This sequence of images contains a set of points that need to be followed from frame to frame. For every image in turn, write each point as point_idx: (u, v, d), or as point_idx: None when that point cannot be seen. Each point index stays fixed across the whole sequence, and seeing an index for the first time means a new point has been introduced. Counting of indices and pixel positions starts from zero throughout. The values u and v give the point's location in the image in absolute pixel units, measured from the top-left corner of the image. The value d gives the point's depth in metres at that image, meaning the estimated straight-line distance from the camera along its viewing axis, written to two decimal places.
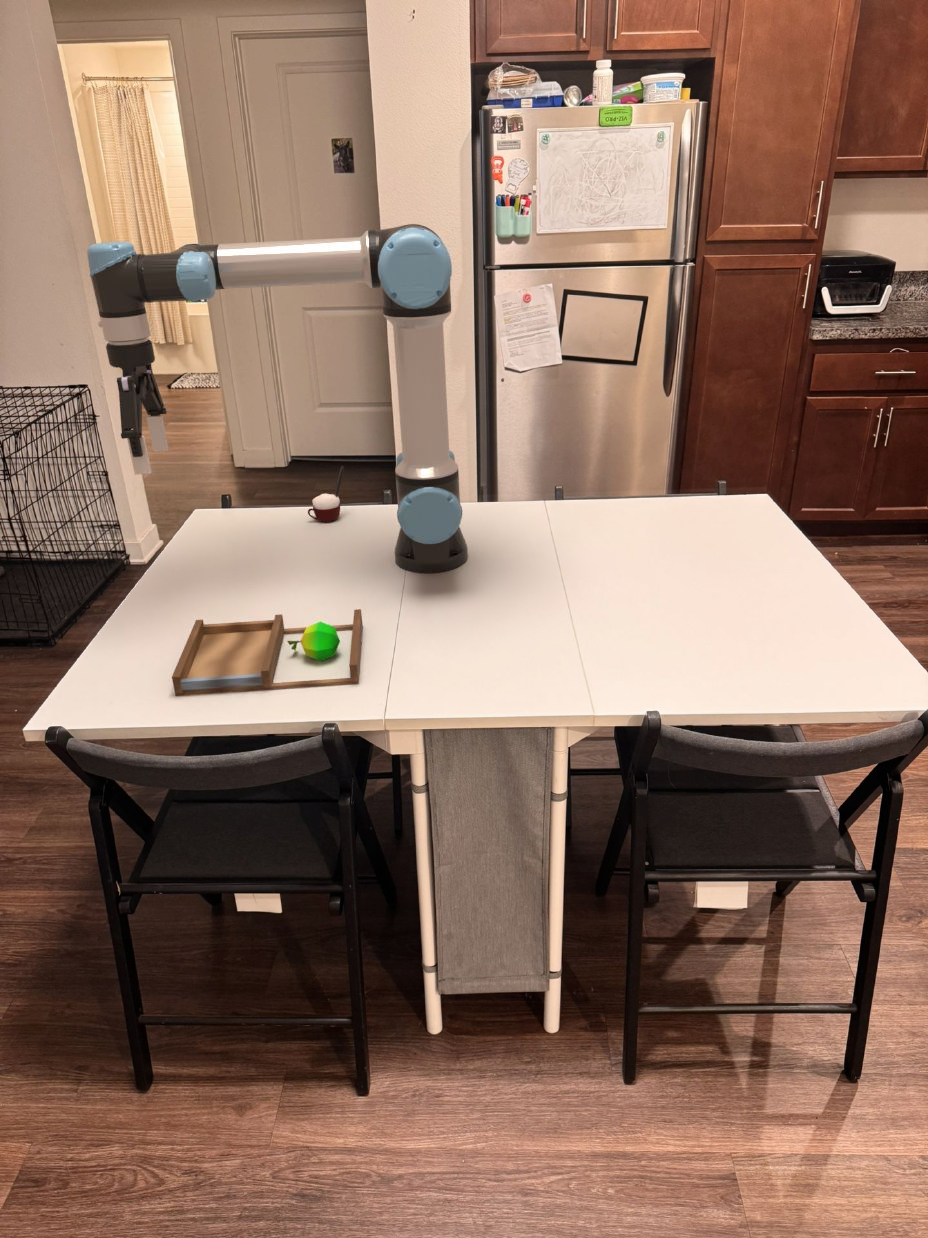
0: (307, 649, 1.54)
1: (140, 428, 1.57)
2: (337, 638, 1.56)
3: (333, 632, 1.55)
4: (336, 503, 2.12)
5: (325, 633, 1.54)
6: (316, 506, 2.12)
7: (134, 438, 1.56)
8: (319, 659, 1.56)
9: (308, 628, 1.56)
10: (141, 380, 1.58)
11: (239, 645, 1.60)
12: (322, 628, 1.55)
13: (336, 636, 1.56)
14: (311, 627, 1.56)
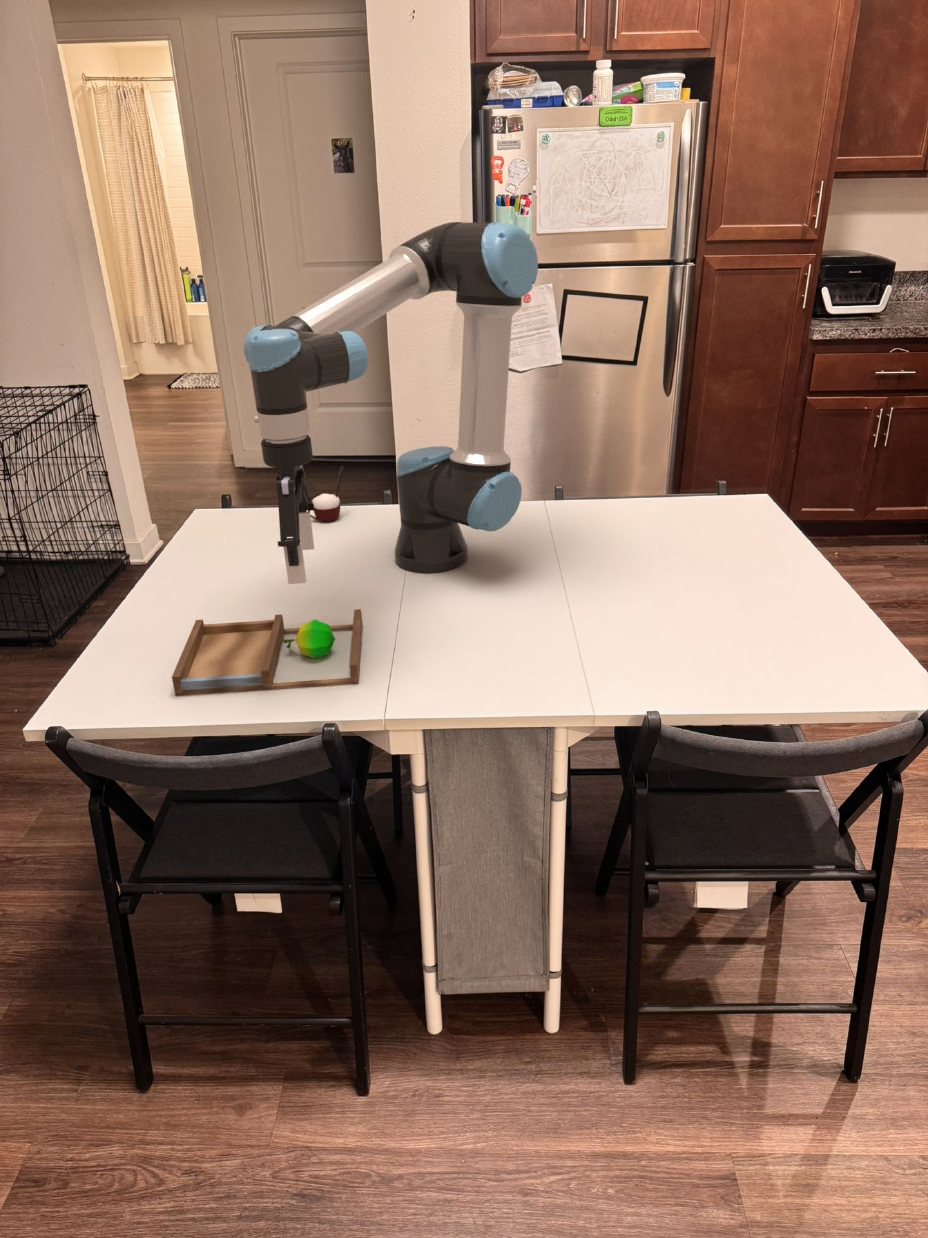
0: (302, 648, 1.55)
1: (298, 535, 1.40)
2: (332, 636, 1.57)
3: (328, 630, 1.56)
4: (336, 503, 2.12)
5: (320, 630, 1.55)
6: (316, 506, 2.12)
7: (292, 547, 1.40)
8: (314, 657, 1.57)
9: (303, 626, 1.56)
10: (298, 480, 1.42)
11: (239, 645, 1.60)
12: (317, 626, 1.56)
13: (331, 634, 1.57)
14: (306, 625, 1.56)
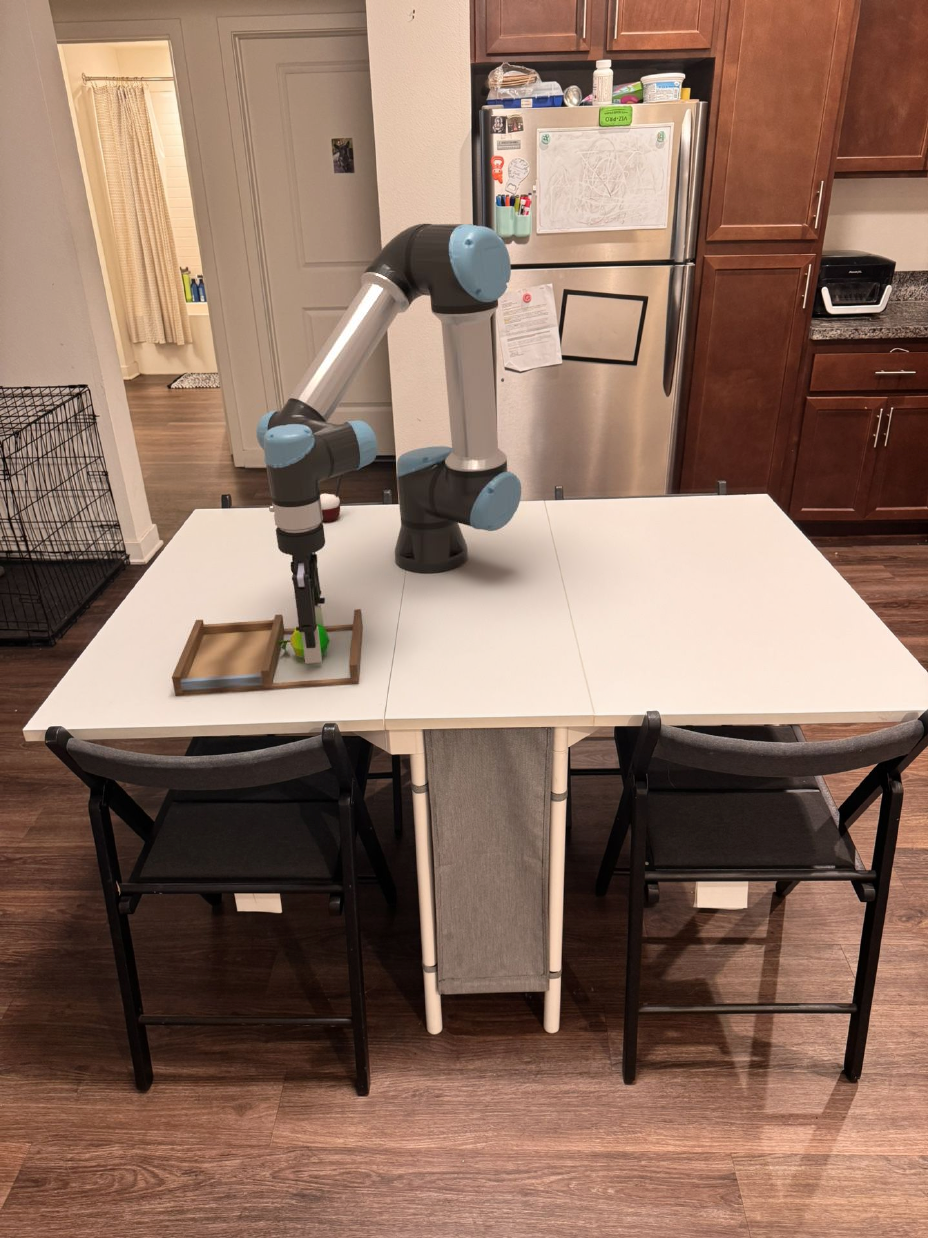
0: (296, 649, 1.55)
1: (315, 620, 1.50)
2: (327, 638, 1.56)
3: (322, 632, 1.55)
4: (336, 503, 2.12)
5: None
6: None
7: (309, 631, 1.49)
8: None
9: None
10: (312, 567, 1.48)
11: (239, 645, 1.60)
12: None
13: (326, 636, 1.56)
14: None
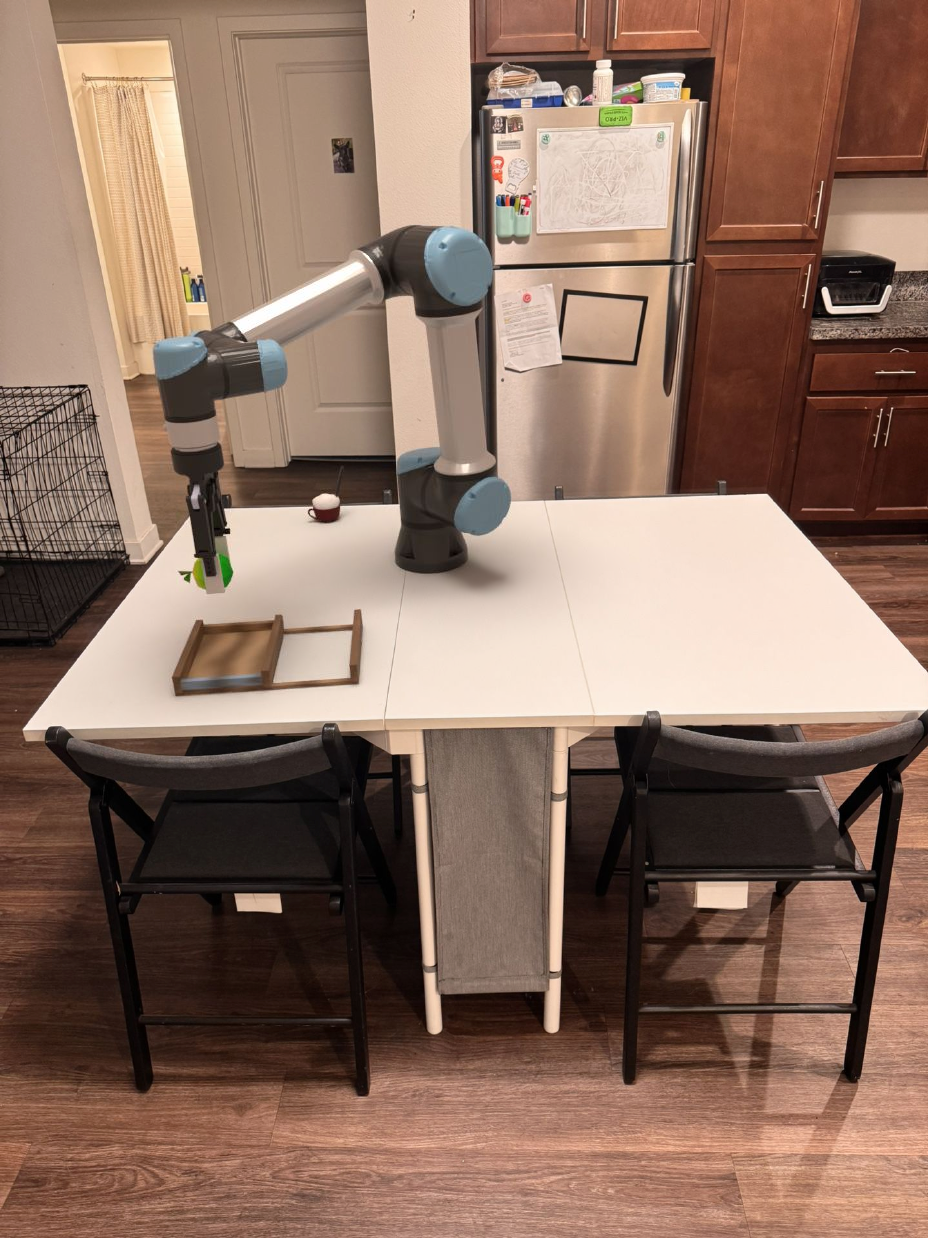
0: (197, 579, 1.47)
1: (214, 546, 1.43)
2: (230, 568, 1.49)
3: (225, 562, 1.48)
4: (336, 503, 2.12)
5: None
6: (316, 506, 2.12)
7: (208, 558, 1.42)
8: None
9: None
10: (209, 489, 1.41)
11: (239, 645, 1.60)
12: None
13: (229, 566, 1.49)
14: None
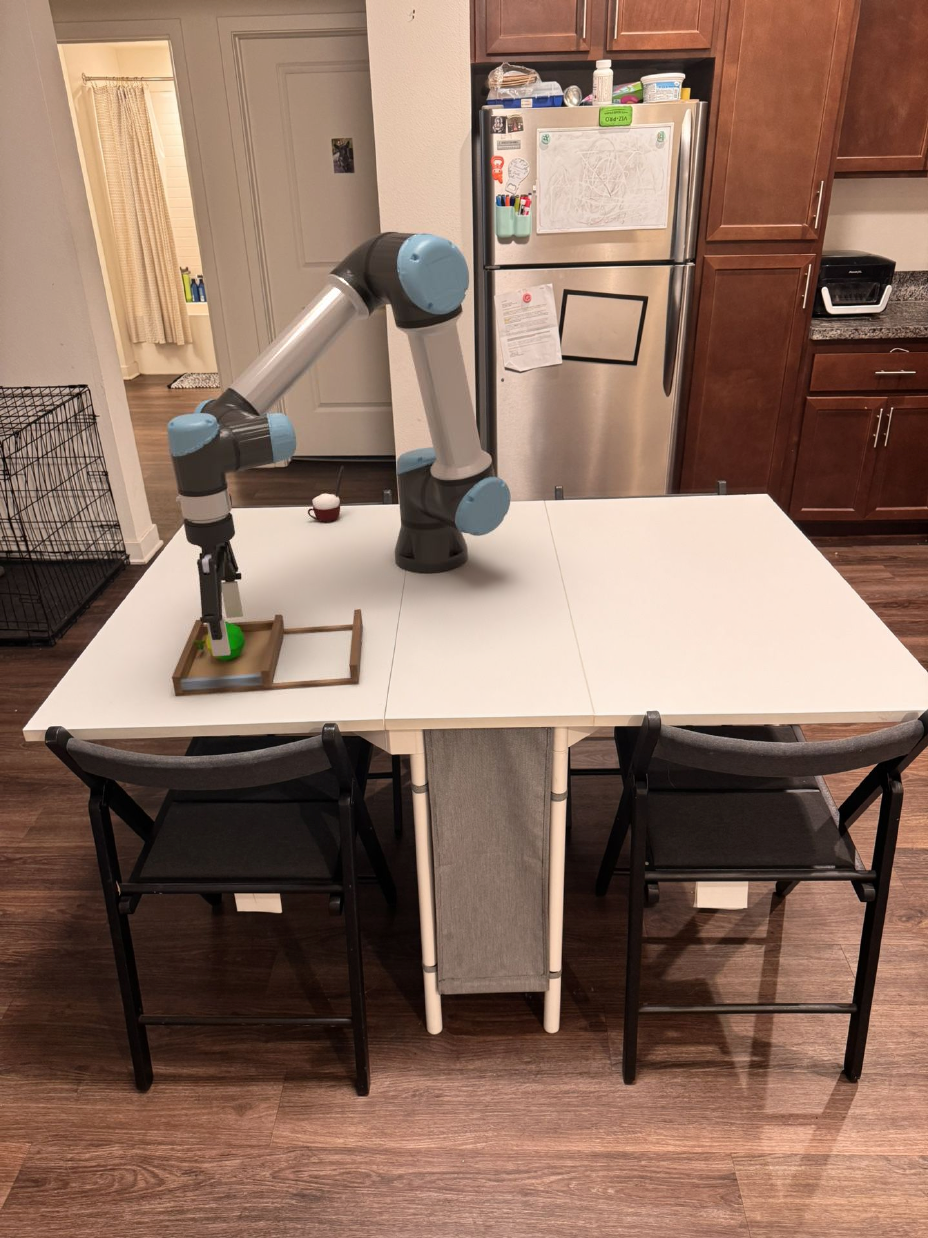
0: (211, 649, 1.54)
1: (220, 610, 1.45)
2: (242, 638, 1.55)
3: (237, 633, 1.54)
4: (336, 503, 2.12)
5: (229, 633, 1.53)
6: (316, 506, 2.12)
7: (214, 622, 1.44)
8: (224, 659, 1.55)
9: None
10: (220, 556, 1.46)
11: None
12: (227, 628, 1.54)
13: (241, 636, 1.55)
14: None
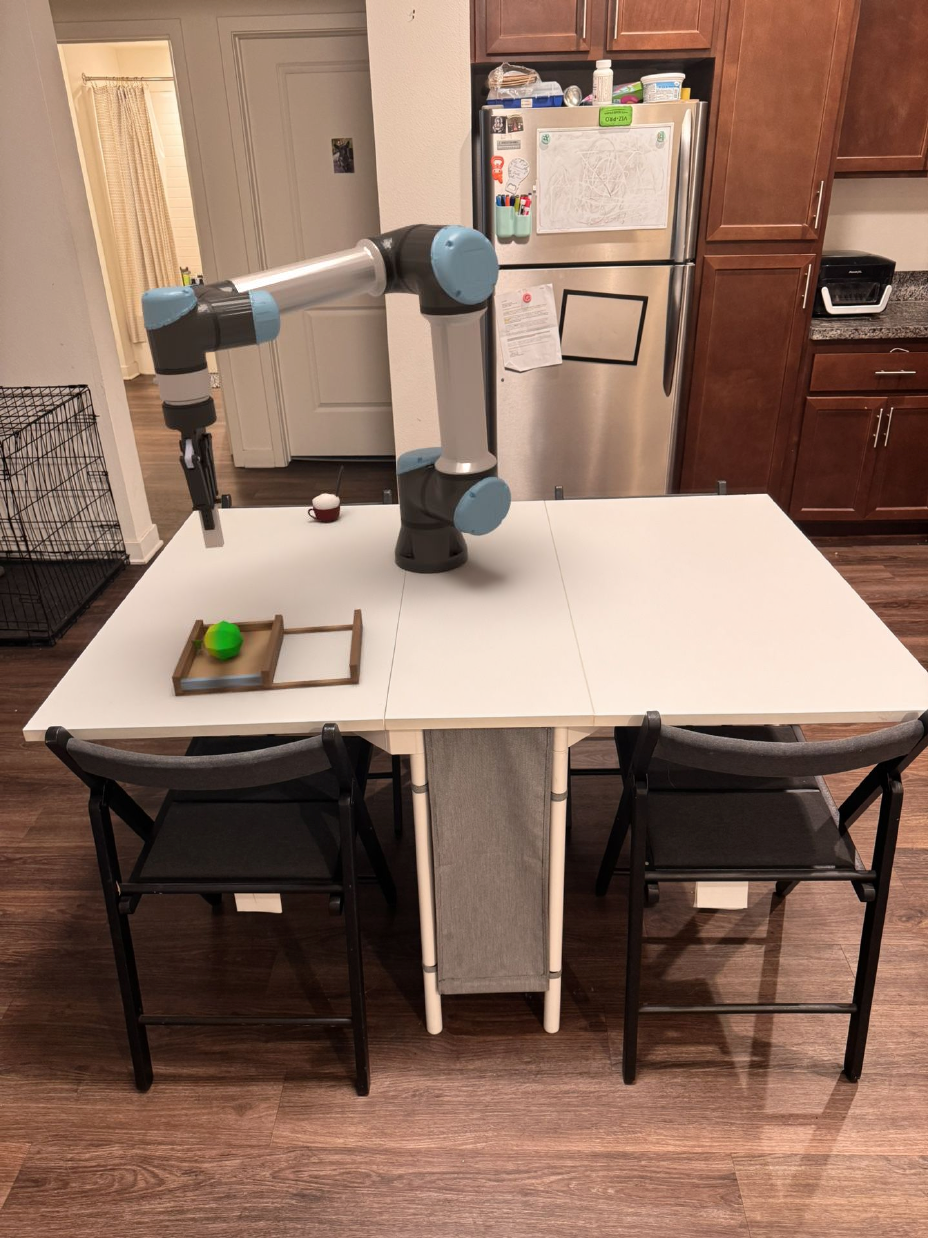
0: (209, 649, 1.54)
1: (212, 500, 1.43)
2: (240, 637, 1.55)
3: (235, 631, 1.54)
4: (336, 503, 2.12)
5: (227, 632, 1.53)
6: (316, 506, 2.12)
7: (206, 511, 1.43)
8: (222, 658, 1.55)
9: (211, 627, 1.55)
10: (202, 446, 1.38)
11: None
12: (225, 627, 1.54)
13: (239, 635, 1.55)
14: (214, 626, 1.55)
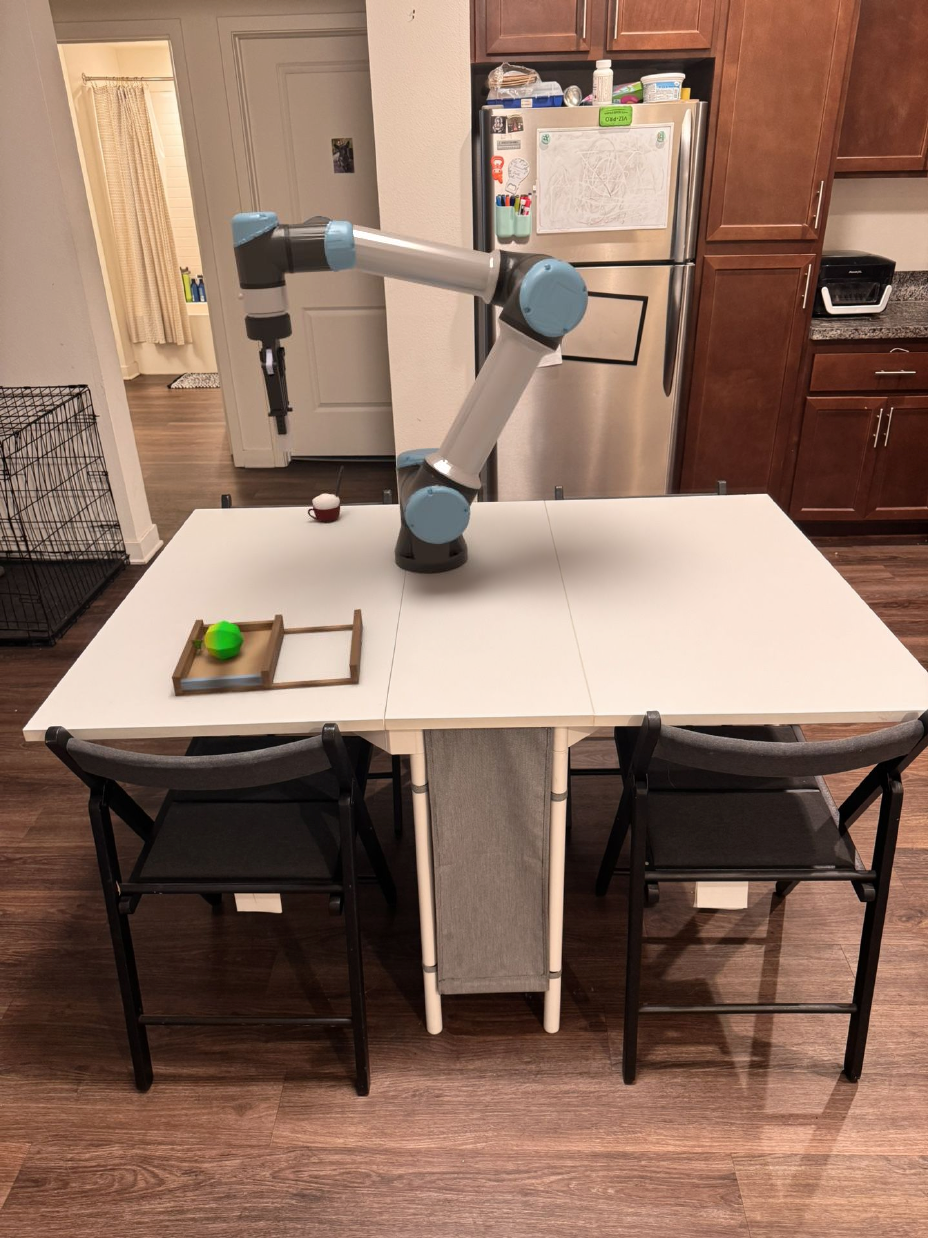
0: (209, 648, 1.54)
1: (285, 407, 1.60)
2: (240, 637, 1.55)
3: (235, 631, 1.54)
4: (336, 503, 2.12)
5: (227, 632, 1.53)
6: (316, 506, 2.12)
7: (281, 416, 1.60)
8: (222, 658, 1.55)
9: (211, 627, 1.55)
10: (279, 356, 1.56)
11: None
12: (225, 627, 1.54)
13: (239, 635, 1.55)
14: (214, 626, 1.55)
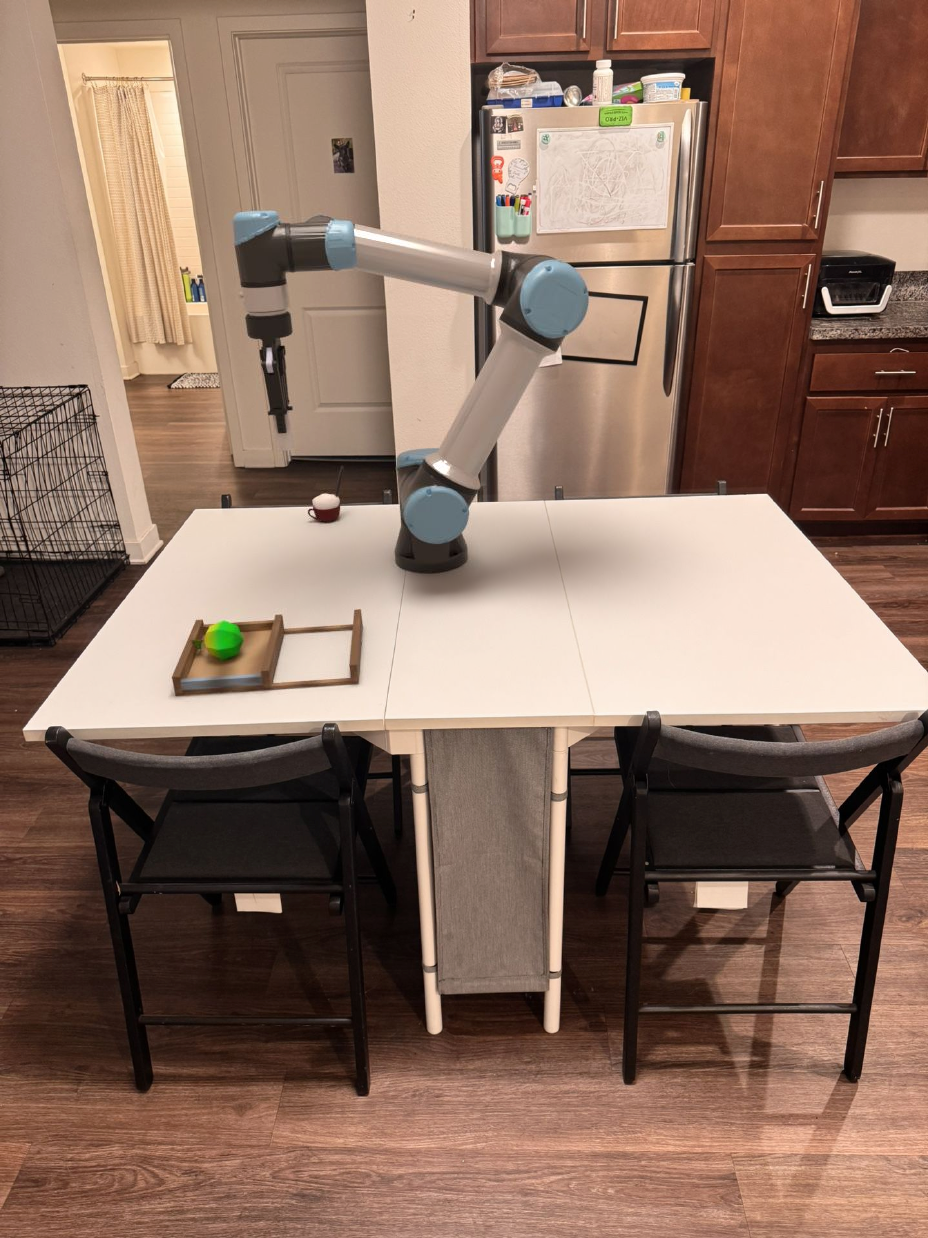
0: (209, 648, 1.54)
1: (285, 405, 1.61)
2: (240, 637, 1.55)
3: (235, 631, 1.54)
4: (336, 503, 2.12)
5: (227, 632, 1.53)
6: (316, 506, 2.12)
7: (280, 415, 1.61)
8: (222, 658, 1.55)
9: (211, 627, 1.55)
10: (280, 355, 1.56)
11: None
12: (225, 627, 1.54)
13: (239, 635, 1.55)
14: (214, 626, 1.55)
